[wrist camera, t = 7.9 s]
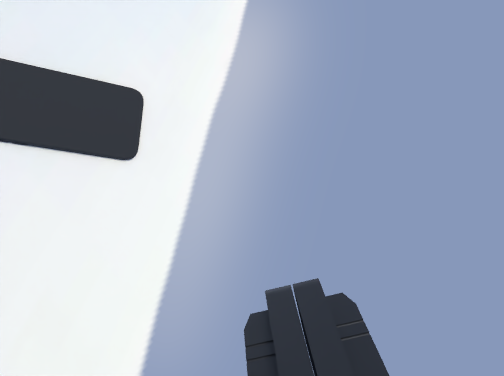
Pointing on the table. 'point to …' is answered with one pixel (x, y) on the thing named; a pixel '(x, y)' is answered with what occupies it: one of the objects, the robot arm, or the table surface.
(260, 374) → the robot arm
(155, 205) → the table surface
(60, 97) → the phone
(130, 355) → the table surface
